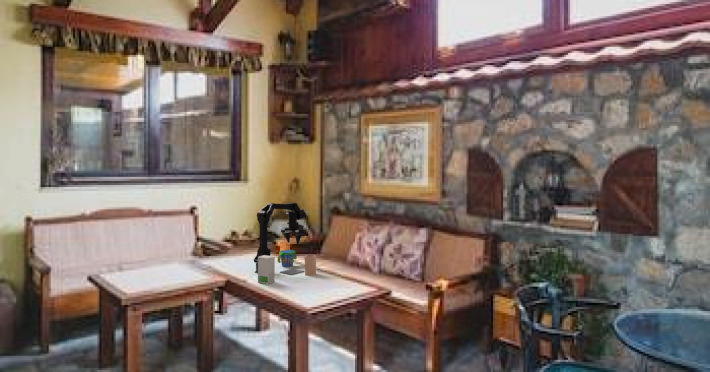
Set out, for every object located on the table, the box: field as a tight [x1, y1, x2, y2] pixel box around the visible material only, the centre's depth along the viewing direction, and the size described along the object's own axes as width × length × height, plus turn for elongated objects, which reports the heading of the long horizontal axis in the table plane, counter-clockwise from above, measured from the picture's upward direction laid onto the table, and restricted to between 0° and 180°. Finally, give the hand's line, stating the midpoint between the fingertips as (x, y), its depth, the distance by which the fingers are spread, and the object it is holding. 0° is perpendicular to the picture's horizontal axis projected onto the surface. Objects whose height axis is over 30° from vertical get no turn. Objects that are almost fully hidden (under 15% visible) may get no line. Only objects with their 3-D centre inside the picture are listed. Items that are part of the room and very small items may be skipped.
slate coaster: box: [279, 268, 305, 276], centre depth 339 cm, size 11×11×1 cm
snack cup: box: [277, 249, 297, 268], centre depth 357 cm, size 16×10×10 cm
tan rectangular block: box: [304, 254, 317, 277], centre depth 331 cm, size 5×5×12 cm
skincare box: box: [257, 255, 276, 285], centre depth 315 cm, size 8×7×16 cm
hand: (293, 243), depth 360 cm, fingers open, 9 cm apart
